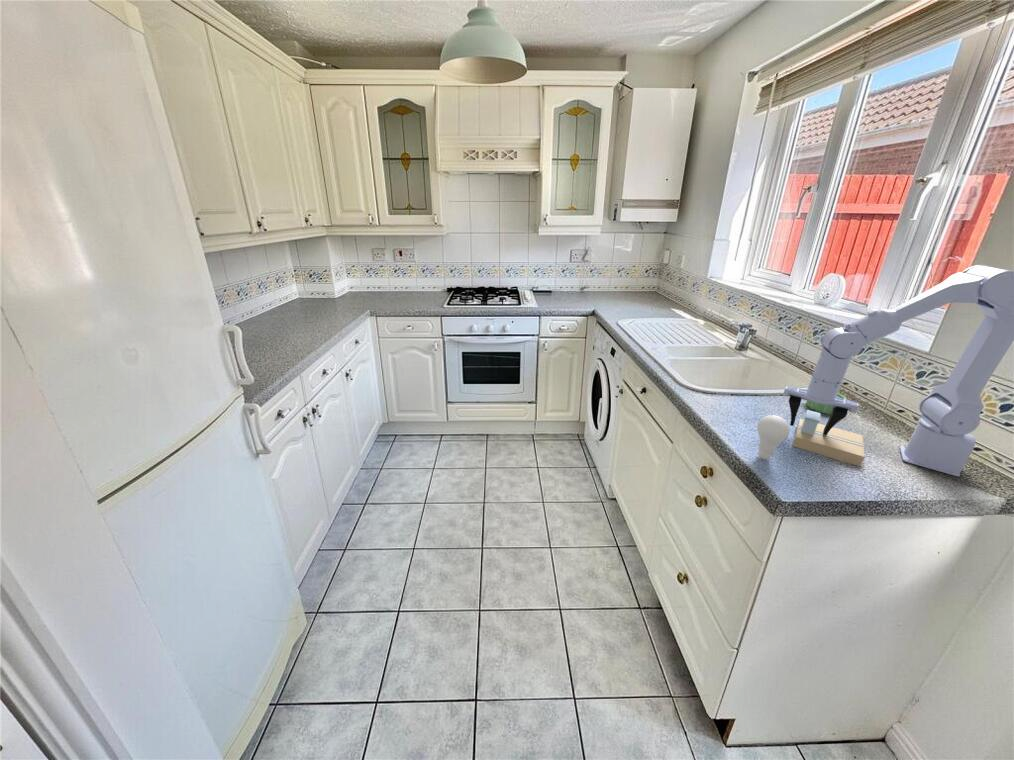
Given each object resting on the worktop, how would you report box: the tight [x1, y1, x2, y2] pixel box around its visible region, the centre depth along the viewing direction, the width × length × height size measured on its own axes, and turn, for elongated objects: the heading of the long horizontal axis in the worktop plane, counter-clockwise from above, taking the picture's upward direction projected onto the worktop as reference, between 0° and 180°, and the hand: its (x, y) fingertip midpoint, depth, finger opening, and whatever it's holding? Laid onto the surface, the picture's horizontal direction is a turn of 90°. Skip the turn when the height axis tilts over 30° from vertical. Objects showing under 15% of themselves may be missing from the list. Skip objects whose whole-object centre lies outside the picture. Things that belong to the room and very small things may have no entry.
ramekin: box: [805, 392, 847, 415], centre depth 119 cm, size 9×9×4 cm
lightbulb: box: [756, 414, 791, 460], centre depth 92 cm, size 6×6×11 cm
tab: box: [801, 409, 821, 435], centre depth 101 cm, size 3×5×4 cm, turn 143°
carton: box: [792, 418, 865, 467], centre depth 100 cm, size 13×12×3 cm
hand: (808, 428), depth 102 cm, fingers open, 6 cm apart
